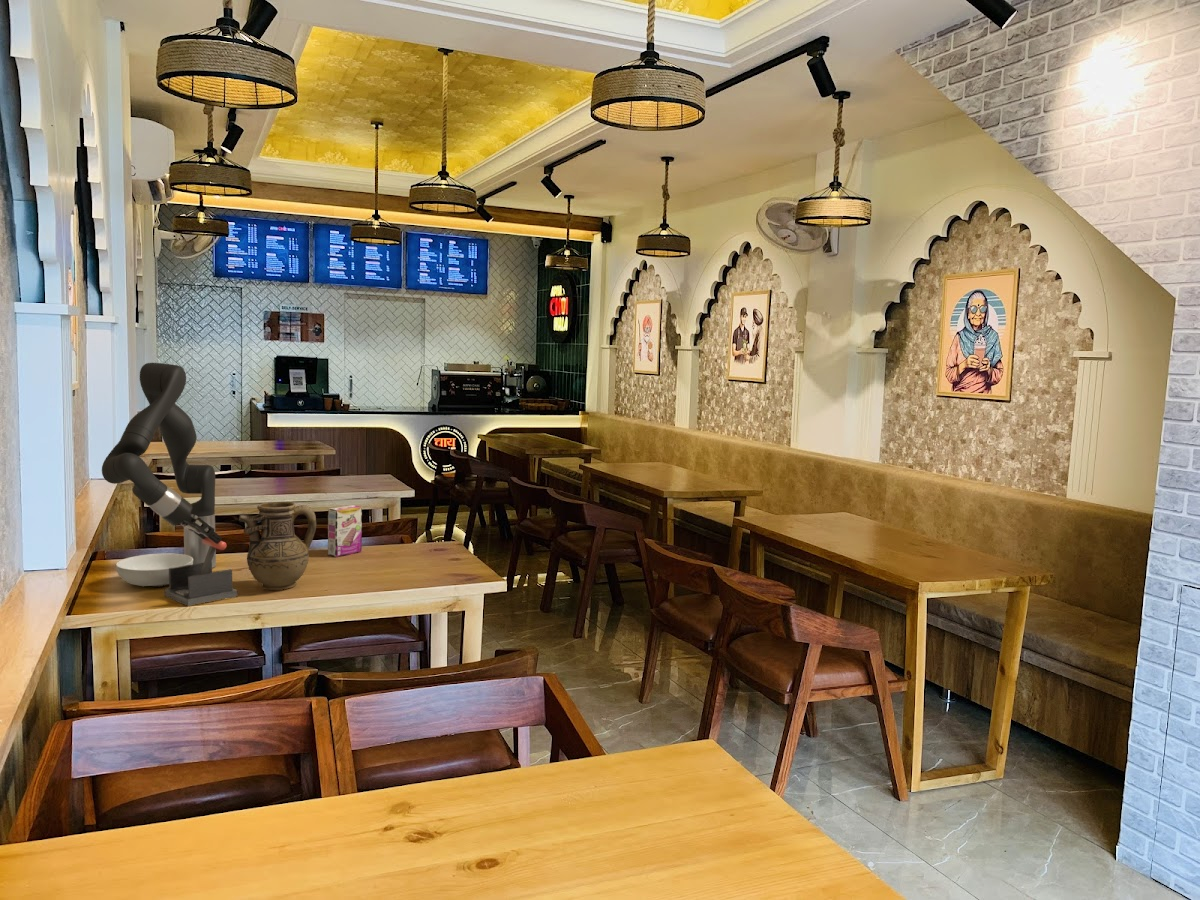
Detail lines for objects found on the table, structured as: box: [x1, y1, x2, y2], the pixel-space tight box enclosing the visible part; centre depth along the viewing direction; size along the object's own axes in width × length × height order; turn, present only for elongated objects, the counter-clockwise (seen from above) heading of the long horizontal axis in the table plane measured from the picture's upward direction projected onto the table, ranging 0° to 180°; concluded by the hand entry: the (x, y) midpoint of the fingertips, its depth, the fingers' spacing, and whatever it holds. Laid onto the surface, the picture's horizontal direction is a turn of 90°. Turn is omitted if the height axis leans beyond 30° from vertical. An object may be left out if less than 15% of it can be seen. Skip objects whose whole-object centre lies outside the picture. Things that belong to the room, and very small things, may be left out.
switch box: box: [164, 562, 238, 607], centre depth 257 cm, size 14×15×8 cm
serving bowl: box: [115, 552, 193, 587], centre depth 271 cm, size 21×21×7 cm
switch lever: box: [200, 537, 227, 574], centre depth 258 cm, size 2×10×13 cm, turn 48°
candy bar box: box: [327, 504, 363, 558], centre depth 313 cm, size 11×5×16 cm, turn 144°
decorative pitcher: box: [238, 501, 317, 591], centre depth 268 cm, size 22×18×25 cm
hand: (212, 538), depth 259 cm, fingers open, 8 cm apart
